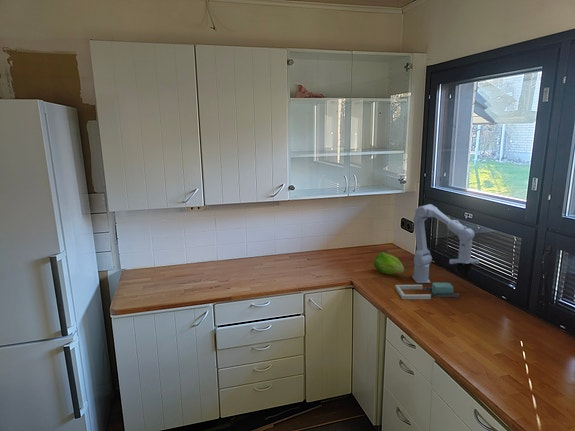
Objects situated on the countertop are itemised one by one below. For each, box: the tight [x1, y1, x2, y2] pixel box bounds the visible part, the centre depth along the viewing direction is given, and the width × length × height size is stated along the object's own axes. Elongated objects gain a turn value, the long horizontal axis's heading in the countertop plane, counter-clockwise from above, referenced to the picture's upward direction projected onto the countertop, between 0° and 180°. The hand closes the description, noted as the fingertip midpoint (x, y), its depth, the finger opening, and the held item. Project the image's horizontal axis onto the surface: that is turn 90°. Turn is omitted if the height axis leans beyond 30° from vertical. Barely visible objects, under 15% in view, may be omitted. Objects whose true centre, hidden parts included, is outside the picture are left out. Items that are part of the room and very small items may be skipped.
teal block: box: [431, 282, 455, 294], centre depth 201 cm, size 6×9×5 cm, turn 87°
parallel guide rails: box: [423, 286, 460, 298], centre depth 201 cm, size 9×15×2 cm, turn 89°
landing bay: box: [394, 284, 432, 300], centre depth 202 cm, size 14×14×2 cm
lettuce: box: [373, 252, 406, 275], centre depth 228 cm, size 14×20×12 cm
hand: (462, 276), depth 199 cm, fingers closed
